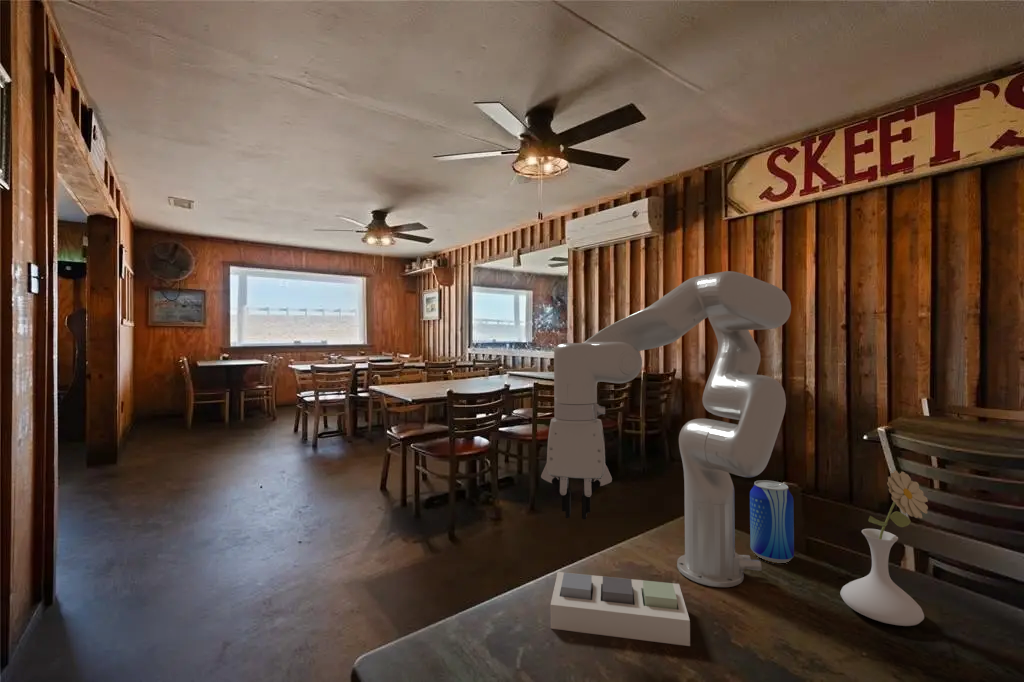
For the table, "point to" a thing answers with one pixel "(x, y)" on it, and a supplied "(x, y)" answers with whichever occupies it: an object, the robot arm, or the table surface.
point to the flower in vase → (877, 589)
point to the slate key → (576, 586)
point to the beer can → (772, 521)
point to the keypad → (620, 615)
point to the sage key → (659, 595)
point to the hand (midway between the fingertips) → (576, 515)
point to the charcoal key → (617, 590)
